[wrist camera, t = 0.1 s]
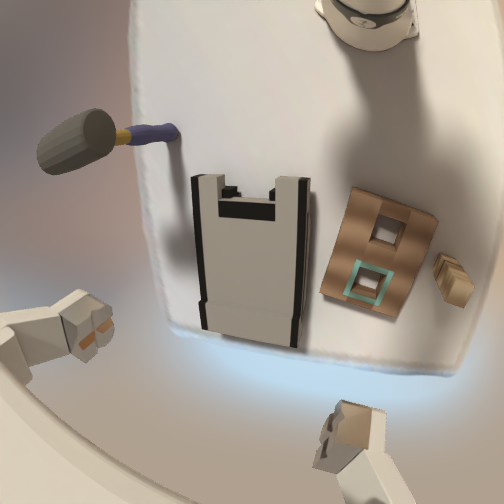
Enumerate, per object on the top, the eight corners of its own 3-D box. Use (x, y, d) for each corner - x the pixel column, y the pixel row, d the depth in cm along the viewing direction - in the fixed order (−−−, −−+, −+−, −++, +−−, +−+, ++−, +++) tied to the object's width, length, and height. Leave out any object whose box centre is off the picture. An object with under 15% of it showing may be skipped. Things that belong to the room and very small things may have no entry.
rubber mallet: (152, 155, 61) (37, 183, 35) (147, 123, 59) (29, 135, 32) (201, 143, 57) (84, 163, 30) (195, 108, 54) (76, 104, 28)
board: (352, 186, 51) (352, 190, 47) (433, 215, 47) (438, 221, 44) (321, 282, 59) (319, 293, 56) (394, 306, 56) (395, 318, 52)
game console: (313, 175, 53) (306, 181, 45) (304, 324, 65) (296, 348, 57) (208, 171, 59) (187, 178, 52) (217, 309, 71) (201, 329, 64)
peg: (439, 251, 49) (456, 279, 38) (456, 257, 48) (475, 287, 38) (431, 270, 51) (444, 301, 40) (447, 276, 50) (463, 308, 39)
